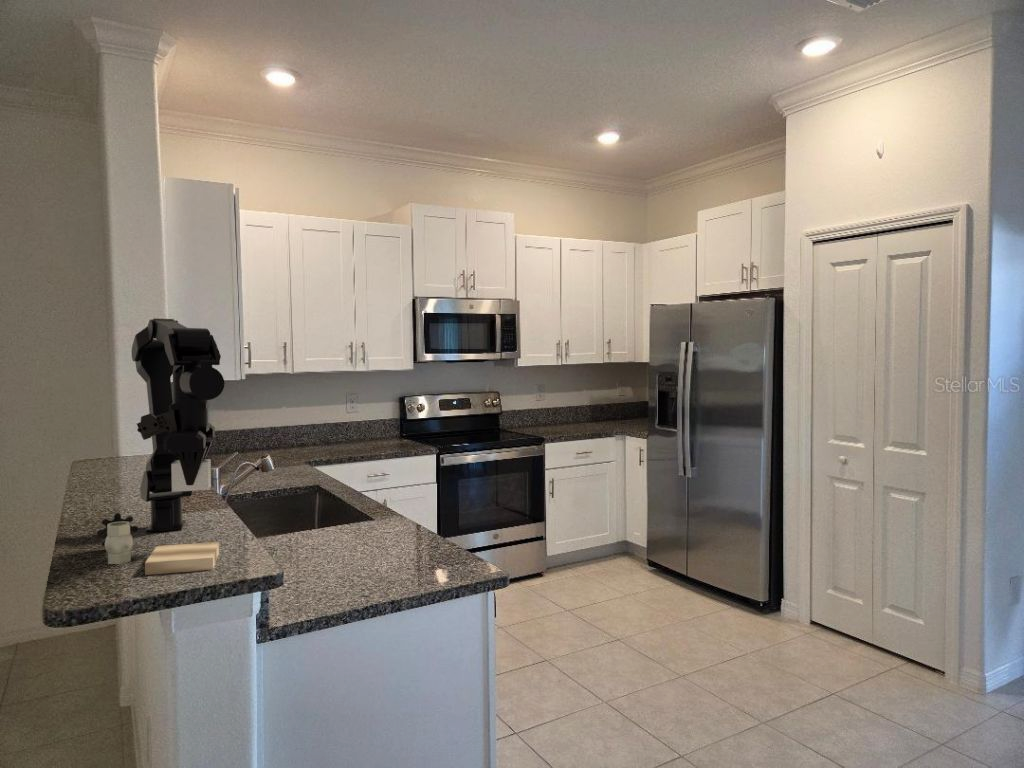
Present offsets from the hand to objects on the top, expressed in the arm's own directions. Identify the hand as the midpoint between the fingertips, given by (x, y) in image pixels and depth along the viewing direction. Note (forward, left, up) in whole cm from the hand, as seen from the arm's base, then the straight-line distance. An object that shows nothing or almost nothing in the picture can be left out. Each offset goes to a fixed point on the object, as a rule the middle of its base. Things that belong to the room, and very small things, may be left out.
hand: (191, 483), depth 126 cm
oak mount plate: (+10, 0, -12) cm, 16 cm away
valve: (+2, -12, -12) cm, 17 cm away
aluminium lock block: (0, 0, -1) cm, 1 cm away
